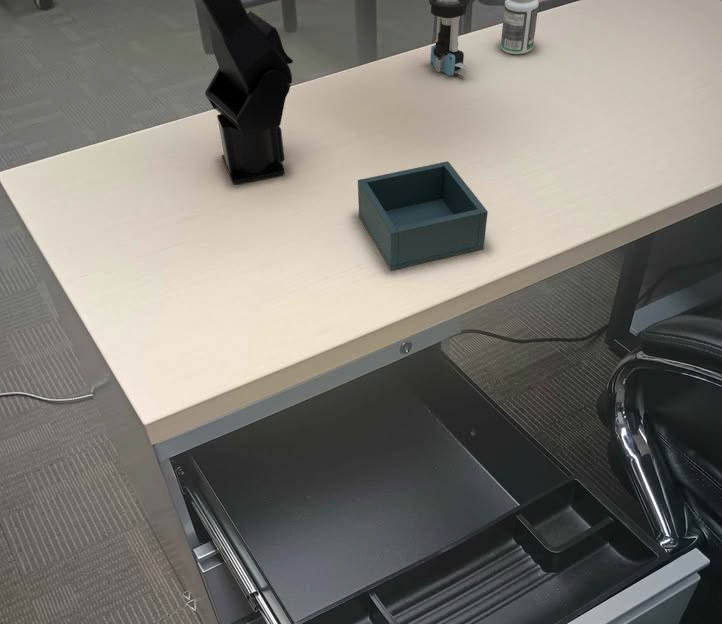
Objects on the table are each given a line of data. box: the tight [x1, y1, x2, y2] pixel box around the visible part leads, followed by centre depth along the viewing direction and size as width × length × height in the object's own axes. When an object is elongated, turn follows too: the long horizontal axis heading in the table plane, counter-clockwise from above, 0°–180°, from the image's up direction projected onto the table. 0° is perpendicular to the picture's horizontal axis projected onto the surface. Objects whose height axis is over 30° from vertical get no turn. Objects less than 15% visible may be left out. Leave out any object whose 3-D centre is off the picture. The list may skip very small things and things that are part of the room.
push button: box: [428, 0, 470, 77], centre depth 104 cm, size 7×5×10 cm
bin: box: [357, 160, 489, 271], centre depth 82 cm, size 11×11×4 cm
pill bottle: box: [500, 0, 540, 55], centre depth 109 cm, size 5×5×8 cm
